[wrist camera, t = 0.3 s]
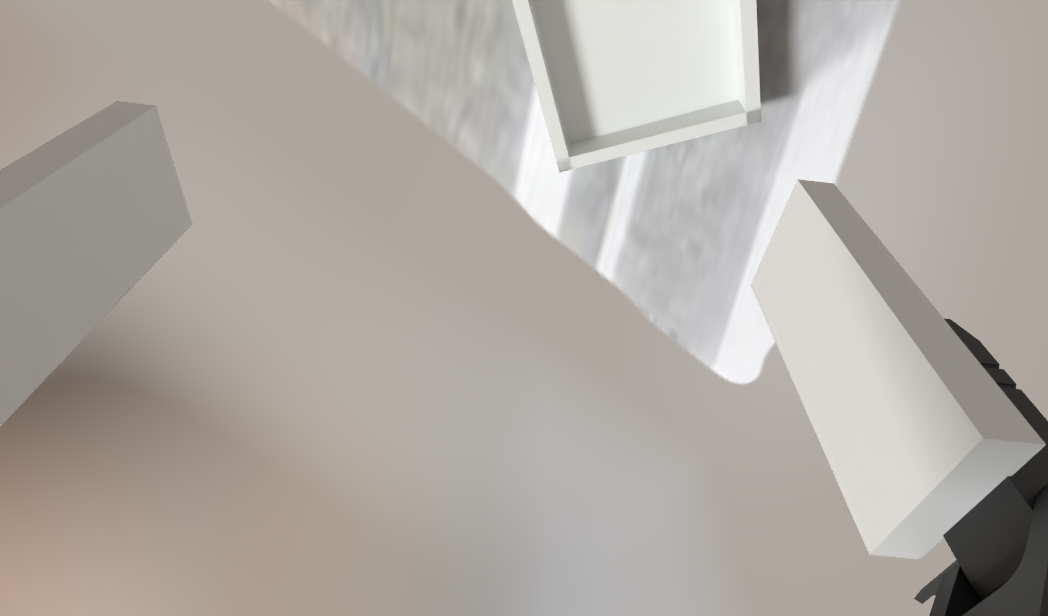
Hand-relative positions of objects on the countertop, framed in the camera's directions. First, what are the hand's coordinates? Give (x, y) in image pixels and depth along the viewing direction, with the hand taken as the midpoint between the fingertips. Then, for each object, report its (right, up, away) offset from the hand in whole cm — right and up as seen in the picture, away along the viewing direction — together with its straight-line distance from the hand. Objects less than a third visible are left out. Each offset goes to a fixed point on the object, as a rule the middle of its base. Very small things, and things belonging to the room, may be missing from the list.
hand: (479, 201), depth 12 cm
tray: (+7, +14, +21) cm, 26 cm away
